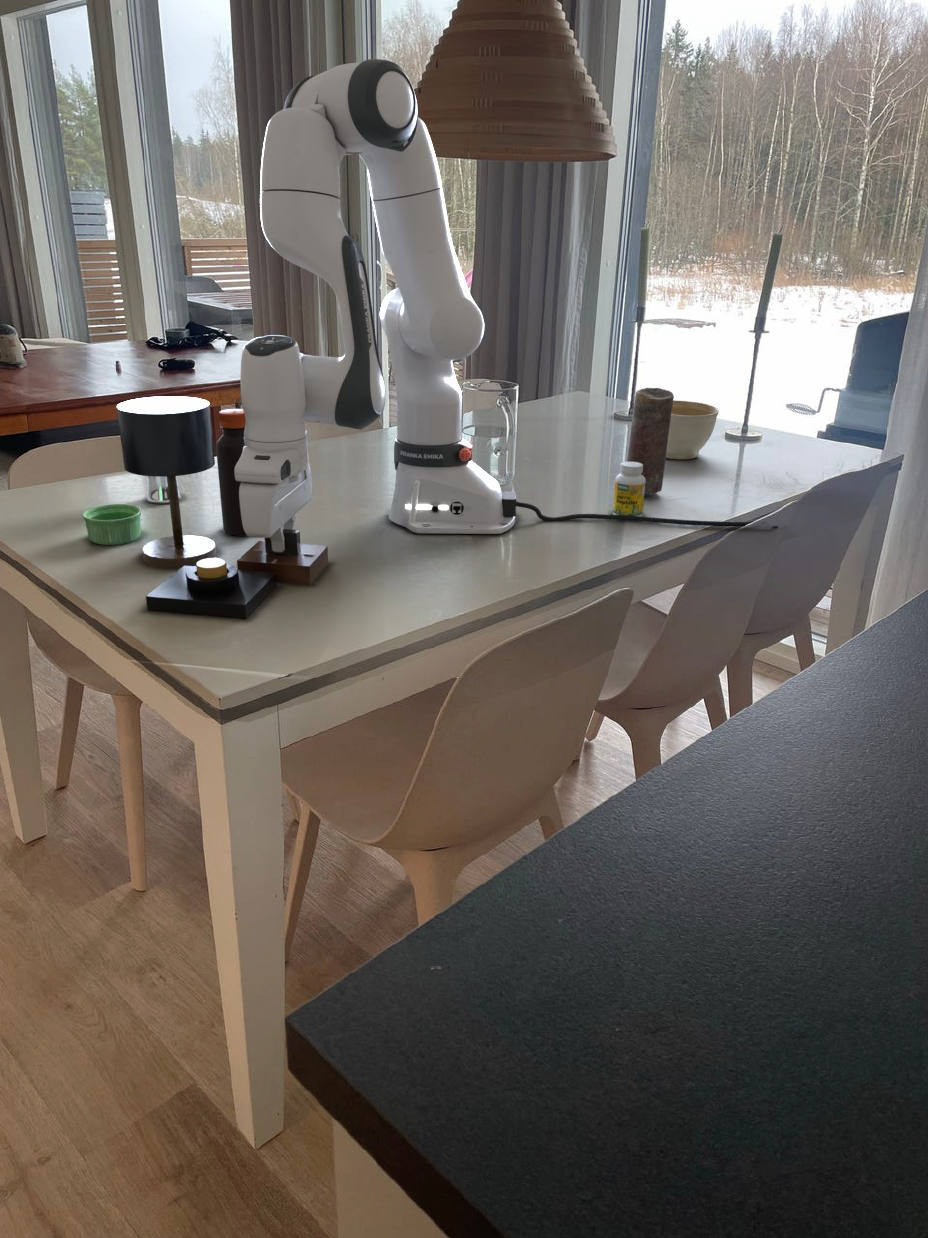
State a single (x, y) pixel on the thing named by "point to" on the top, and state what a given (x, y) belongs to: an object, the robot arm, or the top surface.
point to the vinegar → (230, 468)
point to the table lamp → (169, 463)
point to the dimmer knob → (287, 543)
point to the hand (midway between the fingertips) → (282, 547)
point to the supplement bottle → (629, 490)
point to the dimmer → (287, 563)
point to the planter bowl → (689, 428)
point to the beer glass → (159, 490)
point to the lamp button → (211, 568)
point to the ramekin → (113, 523)
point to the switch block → (212, 593)
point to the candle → (651, 435)
